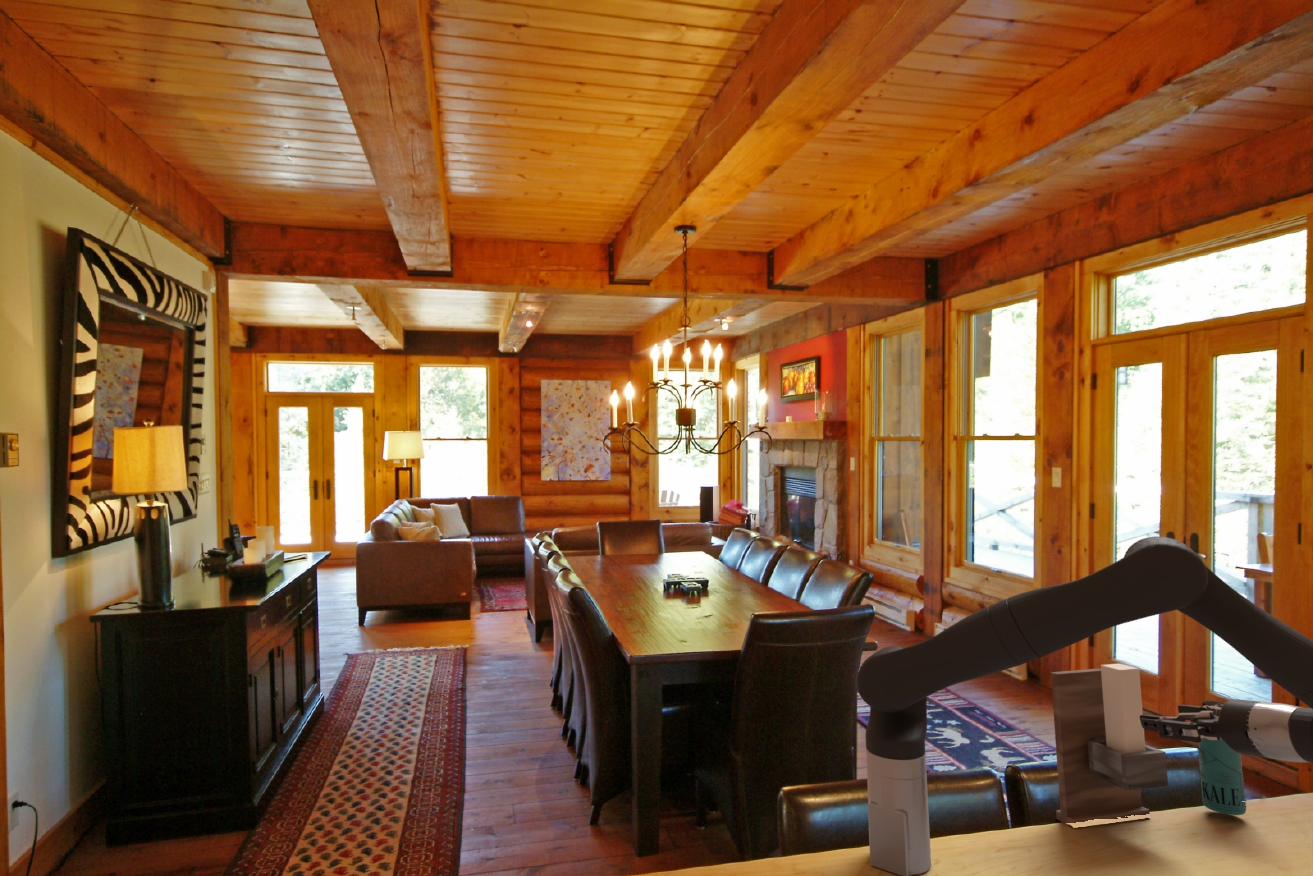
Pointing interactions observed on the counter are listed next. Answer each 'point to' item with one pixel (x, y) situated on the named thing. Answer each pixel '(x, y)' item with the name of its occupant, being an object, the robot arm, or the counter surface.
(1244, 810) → the beverage bottle
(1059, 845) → the counter surface
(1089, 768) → the cup bracket
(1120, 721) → the beige tall block
